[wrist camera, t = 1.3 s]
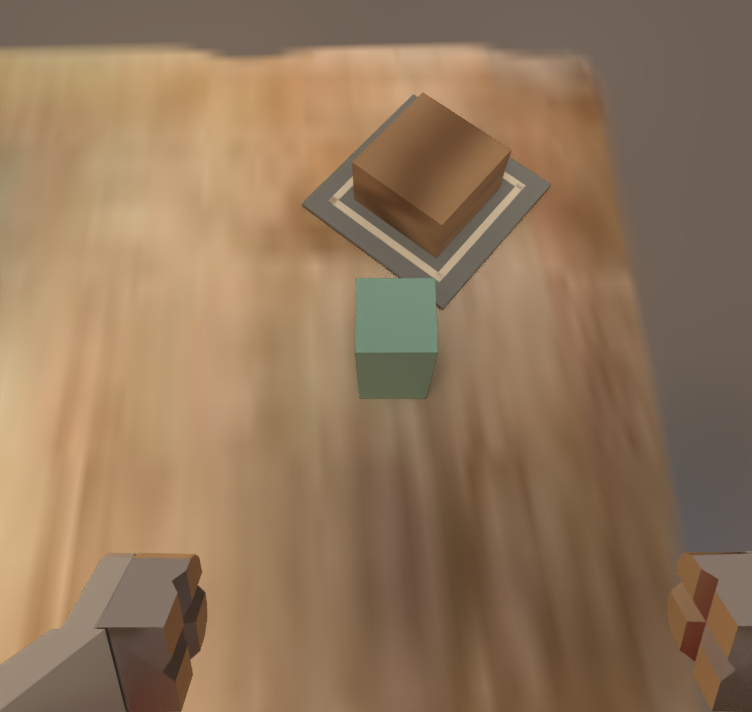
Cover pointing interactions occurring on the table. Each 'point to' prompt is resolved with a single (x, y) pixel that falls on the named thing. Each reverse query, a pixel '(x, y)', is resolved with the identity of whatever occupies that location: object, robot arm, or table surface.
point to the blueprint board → (403, 254)
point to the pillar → (395, 337)
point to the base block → (429, 173)
